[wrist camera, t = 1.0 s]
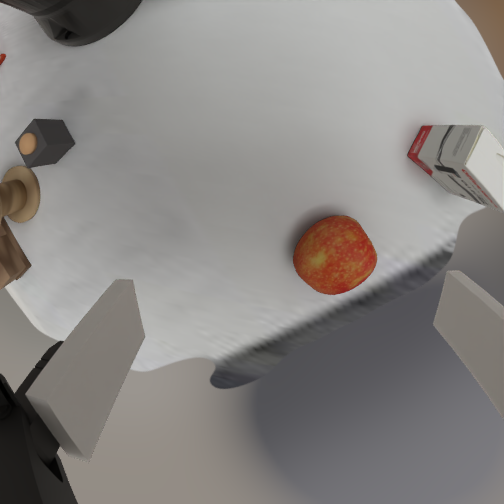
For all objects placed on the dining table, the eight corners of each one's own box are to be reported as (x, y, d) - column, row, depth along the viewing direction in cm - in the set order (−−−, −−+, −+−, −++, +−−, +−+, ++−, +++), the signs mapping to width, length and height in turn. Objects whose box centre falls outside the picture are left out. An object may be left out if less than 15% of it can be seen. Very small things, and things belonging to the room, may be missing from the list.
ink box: (405, 156, 31) (465, 164, 20) (422, 124, 30) (484, 121, 18) (449, 195, 32) (509, 217, 21) (465, 165, 31) (526, 177, 20)
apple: (369, 253, 35) (396, 280, 28) (311, 288, 37) (324, 323, 29) (341, 197, 33) (365, 211, 25) (278, 235, 34) (284, 259, 27)
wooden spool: (-2, 188, 32) (-42, 201, 24) (24, 154, 31) (-19, 160, 22) (20, 231, 34) (-19, 250, 26) (48, 199, 33) (6, 215, 25)
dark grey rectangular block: (43, 140, 30) (10, 142, 24) (62, 120, 30) (29, 118, 23) (56, 163, 31) (23, 169, 25) (75, 143, 31) (43, 145, 24)
